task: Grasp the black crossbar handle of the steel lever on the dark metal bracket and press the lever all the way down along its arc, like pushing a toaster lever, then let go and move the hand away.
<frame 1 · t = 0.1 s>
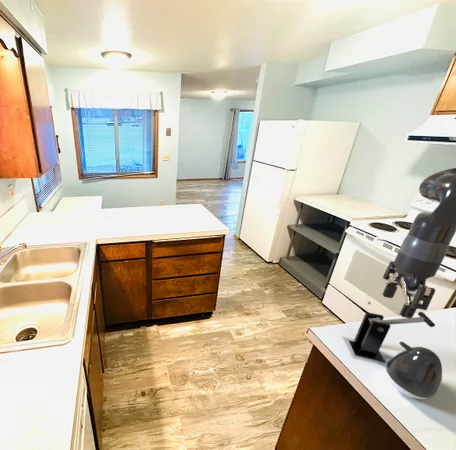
hand: (395, 306, 65), 25 cm above the worktop, tool pointing down, fingers open, 8 cm apart
lever: (398, 321, 74), point 14 cm above the worktop, hinge at 25.0°
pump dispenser: (403, 386, 69), on the worktop
bracket: (363, 350, 81), on the worktop
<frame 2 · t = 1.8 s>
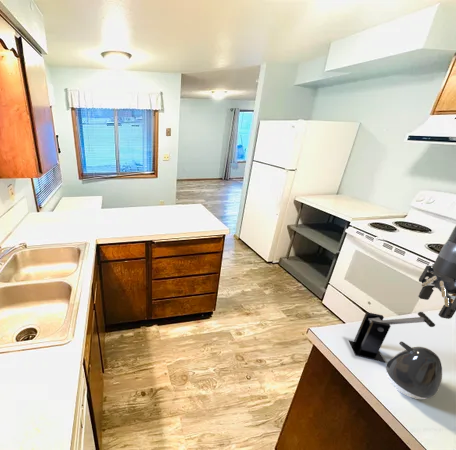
hand: (432, 307, 70), 21 cm above the worktop, tool pointing down, fingers open, 8 cm apart
nothing on the worktop moved.
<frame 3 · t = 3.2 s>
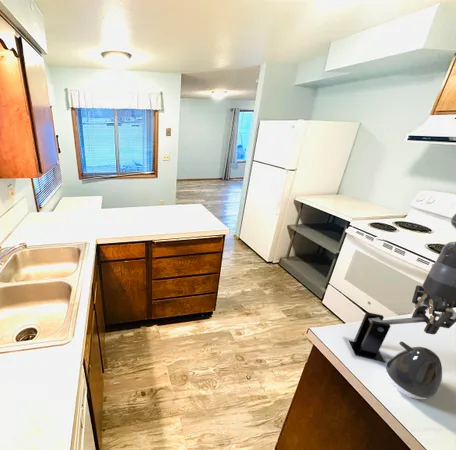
hand: (422, 325, 72), 14 cm above the worktop, tool pointing down, fingers closed on lever, 5 cm apart
lever: (398, 321, 74), point 14 cm above the worktop, hinge at 25.0°, touching gripper
everything else where it was.
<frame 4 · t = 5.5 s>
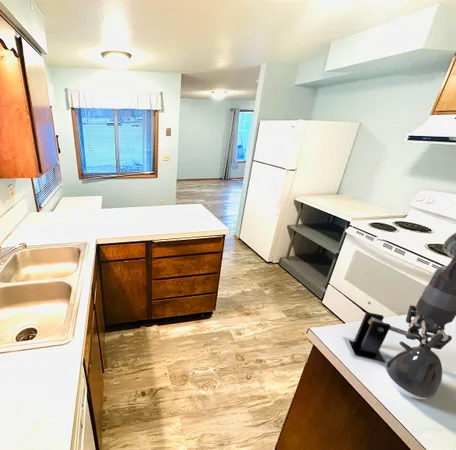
hand: (415, 345, 75), 7 cm above the worktop, tool pointing down, fingers closed on lever, 5 cm apart
lever: (396, 330, 75), point 11 cm above the worktop, hinge at -10.1°, touching gripper
everything else where it was.
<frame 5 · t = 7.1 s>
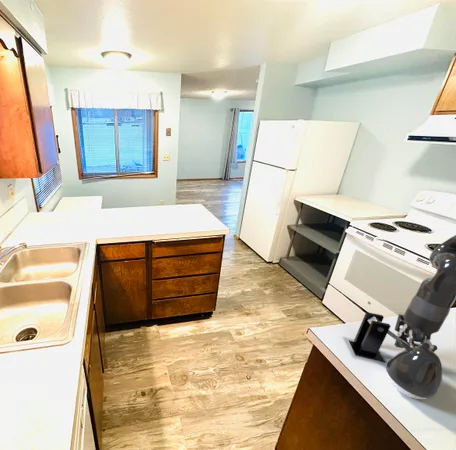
hand: (403, 353, 77), 3 cm above the worktop, tool pointing down, fingers closed on lever, 5 cm apart
lever: (391, 334, 76), point 9 cm above the worktop, hinge at -30.8°, touching gripper
everything else where it was.
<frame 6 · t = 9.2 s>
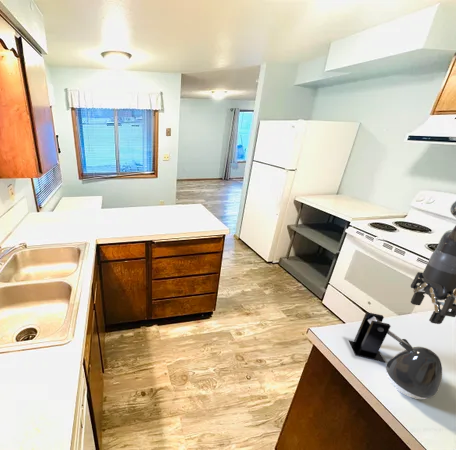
hand: (424, 312, 73), 18 cm above the worktop, tool pointing down, fingers open, 8 cm apart
lever: (391, 334, 76), point 9 cm above the worktop, hinge at -30.9°
everything else where it was.
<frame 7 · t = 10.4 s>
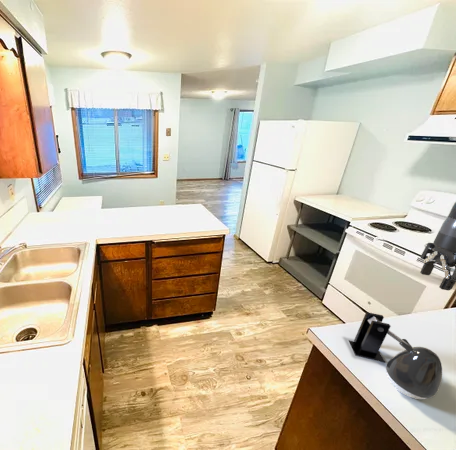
hand: (433, 281, 74), 26 cm above the worktop, tool pointing down, fingers open, 8 cm apart
nothing on the worktop moved.
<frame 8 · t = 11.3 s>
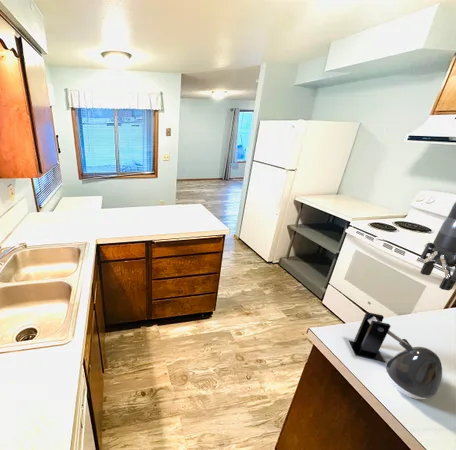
hand: (433, 281, 74), 26 cm above the worktop, tool pointing down, fingers open, 8 cm apart
nothing on the worktop moved.
at the end: lever at -31° (first picture: +25°); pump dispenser moved 0.0 cm from its start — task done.
